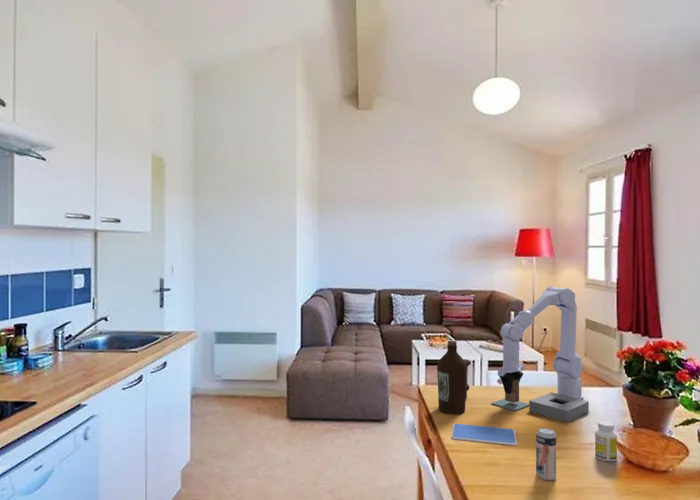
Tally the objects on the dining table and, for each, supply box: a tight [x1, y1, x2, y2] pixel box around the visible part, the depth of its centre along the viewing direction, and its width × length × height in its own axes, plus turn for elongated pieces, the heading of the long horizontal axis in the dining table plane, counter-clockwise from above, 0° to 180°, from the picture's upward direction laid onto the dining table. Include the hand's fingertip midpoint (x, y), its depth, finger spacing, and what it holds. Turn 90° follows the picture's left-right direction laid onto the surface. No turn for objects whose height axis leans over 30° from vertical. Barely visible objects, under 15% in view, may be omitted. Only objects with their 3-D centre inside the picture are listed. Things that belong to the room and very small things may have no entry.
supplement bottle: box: [594, 420, 618, 462], centre depth 134 cm, size 5×5×10 cm
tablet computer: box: [450, 423, 518, 447], centre depth 151 cm, size 19×13×1 cm, turn 75°
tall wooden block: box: [504, 378, 520, 403], centre depth 179 cm, size 4×4×8 cm
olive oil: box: [436, 340, 468, 415], centre depth 174 cm, size 11×11×25 cm
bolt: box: [462, 358, 472, 400], centre depth 187 cm, size 6×5×15 cm
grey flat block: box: [528, 391, 590, 423], centre depth 173 cm, size 16×14×4 cm
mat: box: [491, 397, 529, 412], centre depth 180 cm, size 10×10×1 cm
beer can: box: [535, 427, 557, 482], centre depth 123 cm, size 5×5×12 cm
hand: (510, 392), depth 180 cm, fingers closed on tall wooden block, 4 cm apart
